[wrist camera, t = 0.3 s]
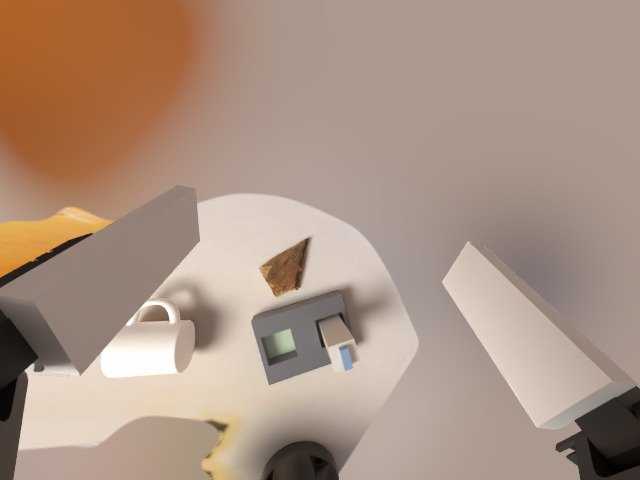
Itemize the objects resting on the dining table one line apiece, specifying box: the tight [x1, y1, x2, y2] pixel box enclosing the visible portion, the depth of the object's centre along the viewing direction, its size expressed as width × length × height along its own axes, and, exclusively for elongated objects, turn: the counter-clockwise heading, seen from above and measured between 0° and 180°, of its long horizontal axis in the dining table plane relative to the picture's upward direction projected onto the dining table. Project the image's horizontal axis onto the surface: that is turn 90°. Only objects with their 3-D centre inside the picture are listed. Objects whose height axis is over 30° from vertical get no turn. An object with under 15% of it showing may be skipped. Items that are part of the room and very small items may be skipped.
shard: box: [259, 238, 308, 297], centre depth 44 cm, size 11×8×2 cm
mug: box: [101, 298, 195, 378], centre depth 37 cm, size 12×10×8 cm
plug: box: [318, 314, 361, 373], centre depth 39 cm, size 4×4×13 cm
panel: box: [251, 290, 353, 385], centre depth 44 cm, size 12×17×3 cm
